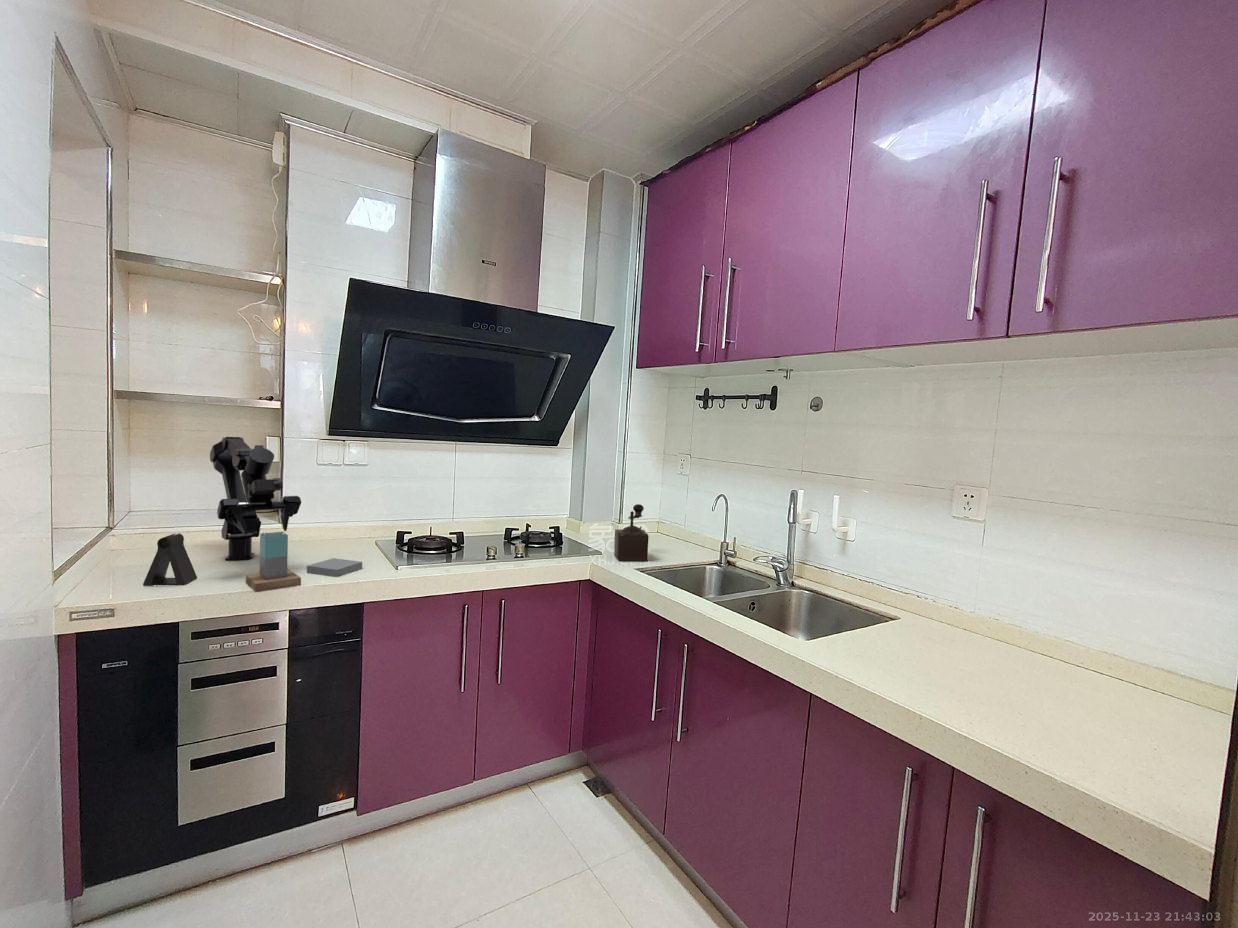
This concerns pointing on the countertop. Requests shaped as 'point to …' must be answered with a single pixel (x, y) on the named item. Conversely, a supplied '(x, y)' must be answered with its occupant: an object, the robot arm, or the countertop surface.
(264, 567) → the block
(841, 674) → the countertop surface
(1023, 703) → the countertop surface
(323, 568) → the stand
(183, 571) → the phone stand
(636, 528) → the manual coffee grinder
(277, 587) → the stand
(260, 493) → the robot arm
